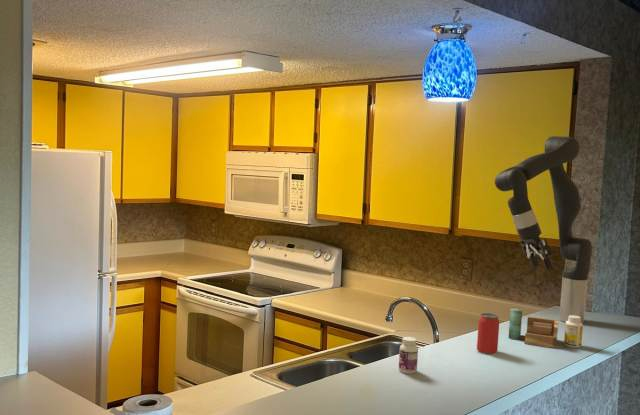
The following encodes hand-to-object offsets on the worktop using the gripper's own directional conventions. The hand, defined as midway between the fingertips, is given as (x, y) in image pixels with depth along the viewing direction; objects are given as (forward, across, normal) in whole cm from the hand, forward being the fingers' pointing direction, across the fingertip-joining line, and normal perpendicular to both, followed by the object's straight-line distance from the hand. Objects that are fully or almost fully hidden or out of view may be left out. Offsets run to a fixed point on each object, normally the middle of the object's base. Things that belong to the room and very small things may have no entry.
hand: (542, 267), depth 220 cm
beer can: (+16, -8, +33) cm, 37 cm away
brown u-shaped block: (+24, +1, +10) cm, 26 cm away
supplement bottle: (+28, -4, +2) cm, 28 cm away
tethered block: (+22, +3, +13) cm, 26 cm away
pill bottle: (+5, -24, +64) cm, 68 cm away
